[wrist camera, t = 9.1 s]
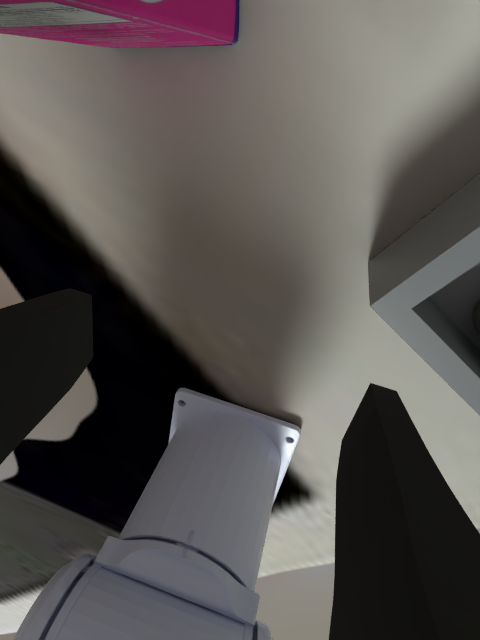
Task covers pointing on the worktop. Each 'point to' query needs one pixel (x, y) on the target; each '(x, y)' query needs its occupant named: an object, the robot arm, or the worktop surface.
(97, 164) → the worktop surface
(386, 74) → the worktop surface
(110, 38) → the supplement box
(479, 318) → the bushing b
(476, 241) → the tub
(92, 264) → the worktop surface
